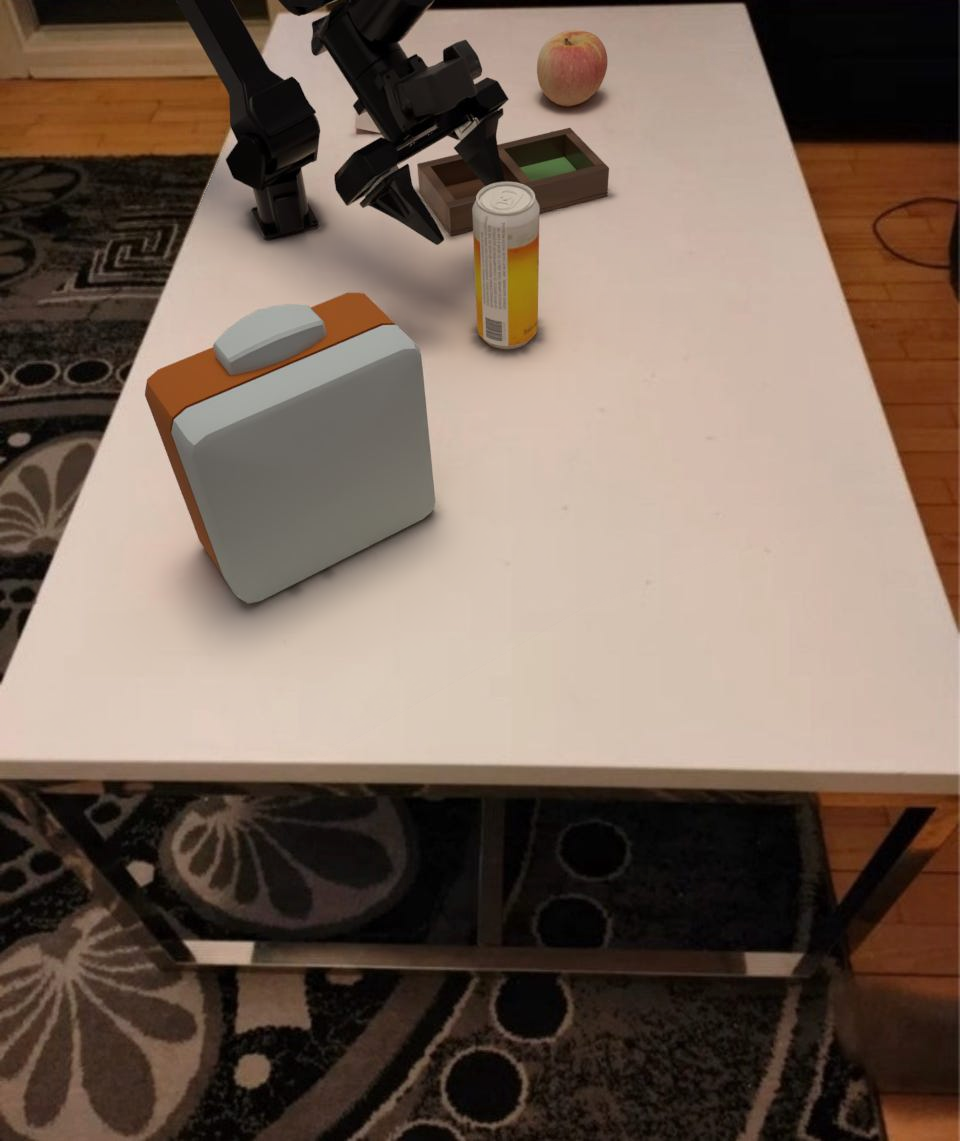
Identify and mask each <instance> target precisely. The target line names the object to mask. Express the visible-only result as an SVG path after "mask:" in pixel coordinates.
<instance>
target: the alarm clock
mask: <svg viewBox="0 0 960 1141" xmlns="http://www.w3.org/2000/svg"><path fill="white" fill-rule="evenodd" d="M423 368H424V367H423V356H422V353H421V349H420V348H419V347H418V346H417V344H416V343H415V341H414V340H413V339H412V338H410V336H408V335H407V333H405V332H404V330H403V329H401V328H400V327H399V326H398V324H396V323H395V322H394V321H393V320H392V319H391V318H390V317H389V316H388V314H386V313H385V312H384V311H383V310H382V309H381V308H380V307H379V306H378V305H377V304H376V303H375V302H374V301H373V300H372V299H370V297H368V295H367V294H365V293H363V292H345V293H342V294H340V295H338V296H335V297H333V298H331V299H328V300H326V301H323V302H320V303H318V304H316V305H313V306H309V305H308V304H299V303H297V304H295V303H286V304H279V305H271V306H267V307H265V308H260V309H257V310H254V311H253V312H251V313H249V314H247V315H245V316H243V317H242V318H240V319H239V320H237V321H236V322H234V323H233V324H232V325H230V326H229V327H227V328H226V330H224V331H223V333H222V334H220V336H219V337H218V338H217V339H216V340H215V341H214V343H213V344H212V347H210V348H208V349H205V350H202V351H199V352H197V353H195V354H193V355H190V356H187V357H185V358H183V359H180V360H178V361H175V362H173V363H170V364H168V365H166V366H163V367H160V368H158V369H157V370H155V372H154V373H152V374H151V375H150V376H148V377H147V379H146V384H145V389H144V397H145V400H146V402H147V405H148V407H149V410H150V412H151V416H152V418H153V421H154V423H155V426H156V428H157V431H158V434H159V436H160V439H161V442H162V444H163V447H164V450H165V453H166V455H167V458H168V461H169V463H170V466H171V469H172V471H173V475H174V477H175V479H176V483H177V485H178V488H179V491H180V492H181V495H182V498H183V501H184V503H185V505H186V509H187V511H188V514H189V517H190V520H191V522H192V524H193V527H194V530H195V532H196V536H197V539H198V540H199V542H200V544H201V545H202V547H203V549H204V550H205V551H206V553H207V555H208V556H209V558H210V559H211V560H212V562H213V564H214V565H215V567H216V568H217V570H218V572H219V573H220V574H221V576H222V577H223V579H224V580H225V582H226V583H227V585H228V587H229V588H230V590H231V591H232V592H233V594H234V596H235V597H236V598H238V599H240V600H241V601H243V602H245V603H246V604H253V603H254V604H255V603H259V602H262V601H264V600H266V599H268V598H270V597H271V596H274V595H276V594H278V593H279V592H282V591H283V590H286V589H287V588H290V587H292V586H295V584H297V583H299V582H301V581H303V580H306V579H308V578H310V577H311V576H313V575H316V574H317V573H319V572H322V571H323V570H325V569H327V568H329V567H331V566H333V565H335V564H338V563H339V562H341V561H343V560H346V559H347V558H349V557H352V556H353V555H355V554H357V553H359V552H361V551H363V550H365V549H367V548H369V547H371V546H373V545H375V544H377V543H378V542H381V541H382V540H384V539H387V538H388V537H391V536H392V535H394V534H396V533H398V532H401V531H402V530H405V529H406V528H409V527H410V526H412V525H415V524H417V523H418V522H420V521H422V520H424V519H425V518H426V517H427V516H428V515H429V514H431V513H432V512H433V510H434V507H435V505H436V494H435V483H434V472H433V462H432V461H433V460H432V451H431V441H430V440H431V439H430V431H429V421H428V411H427V410H428V408H427V400H426V399H427V398H426V388H425V387H426V386H425V379H424V369H423Z"/></svg>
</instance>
